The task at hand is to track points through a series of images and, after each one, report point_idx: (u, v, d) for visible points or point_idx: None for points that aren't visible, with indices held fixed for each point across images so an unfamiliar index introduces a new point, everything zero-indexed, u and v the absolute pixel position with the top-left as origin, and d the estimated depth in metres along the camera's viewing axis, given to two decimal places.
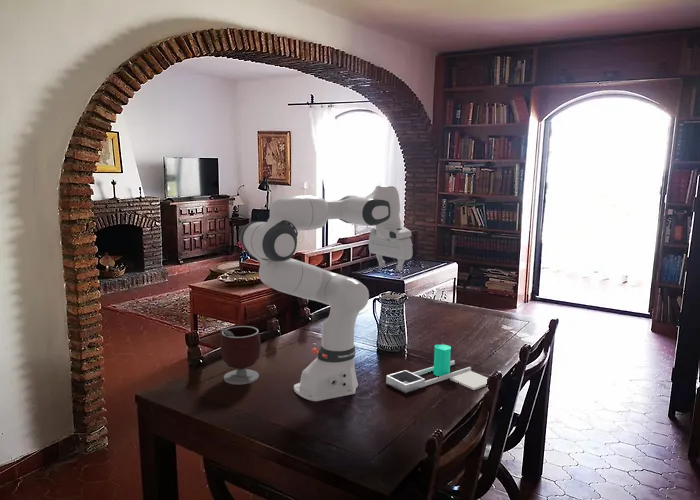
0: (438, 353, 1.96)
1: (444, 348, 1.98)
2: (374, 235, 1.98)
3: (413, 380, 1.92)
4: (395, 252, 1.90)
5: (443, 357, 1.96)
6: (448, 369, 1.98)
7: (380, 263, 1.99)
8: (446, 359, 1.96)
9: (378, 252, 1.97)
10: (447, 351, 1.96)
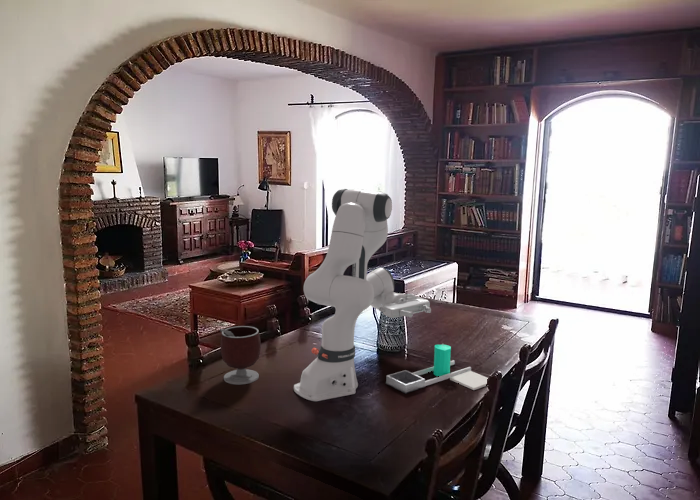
0: (438, 353, 1.96)
1: (444, 348, 1.98)
2: (388, 304, 2.12)
3: (413, 380, 1.92)
4: (418, 301, 2.14)
5: (443, 357, 1.96)
6: (448, 369, 1.98)
7: (409, 311, 2.04)
8: (446, 359, 1.96)
9: (402, 306, 2.08)
10: (447, 351, 1.96)
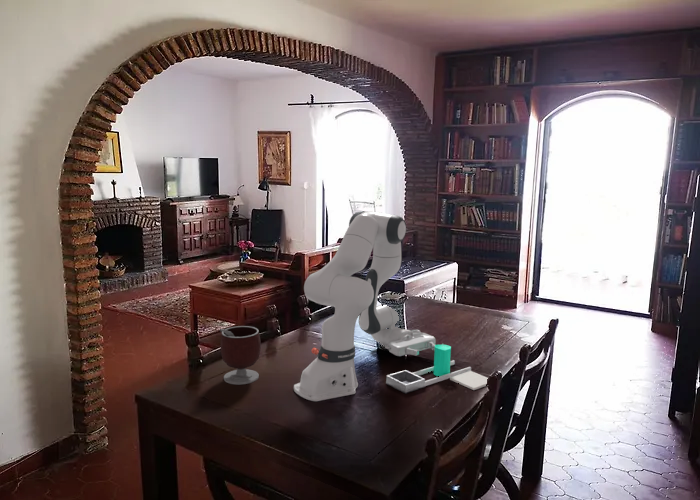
0: (438, 353, 1.96)
1: (444, 348, 1.98)
2: (394, 341, 2.10)
3: (413, 380, 1.92)
4: (423, 338, 2.13)
5: (443, 357, 1.96)
6: (448, 369, 1.98)
7: (415, 350, 2.03)
8: (446, 359, 1.96)
9: (408, 344, 2.07)
10: (447, 351, 1.96)
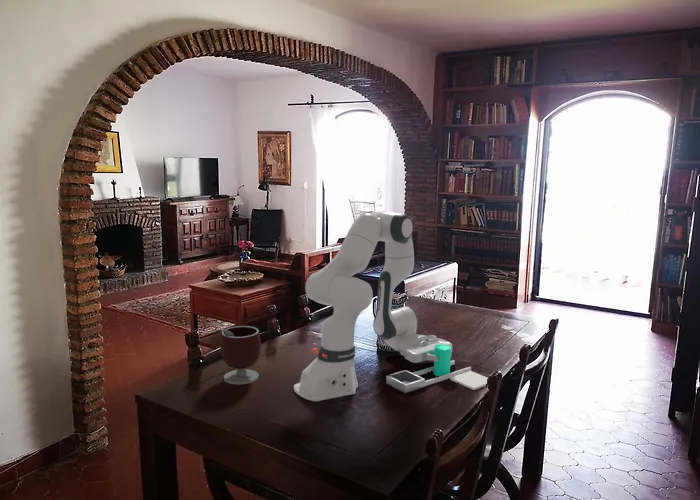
0: (438, 353, 1.96)
1: (444, 348, 1.98)
2: (410, 347, 2.04)
3: (413, 380, 1.92)
4: (440, 344, 2.06)
5: (443, 357, 1.96)
6: (448, 369, 1.98)
7: None
8: (446, 359, 1.96)
9: (425, 350, 2.00)
10: (447, 351, 1.96)
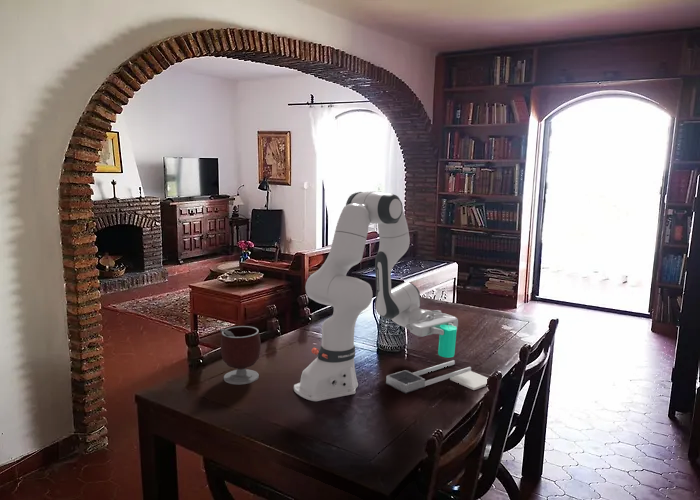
0: None
1: (450, 329, 1.96)
2: (415, 321, 2.01)
3: (413, 380, 1.92)
4: (446, 319, 2.04)
5: (447, 338, 1.94)
6: (452, 350, 1.96)
7: (442, 329, 1.95)
8: (450, 340, 1.94)
9: (430, 324, 1.97)
10: (452, 332, 1.94)
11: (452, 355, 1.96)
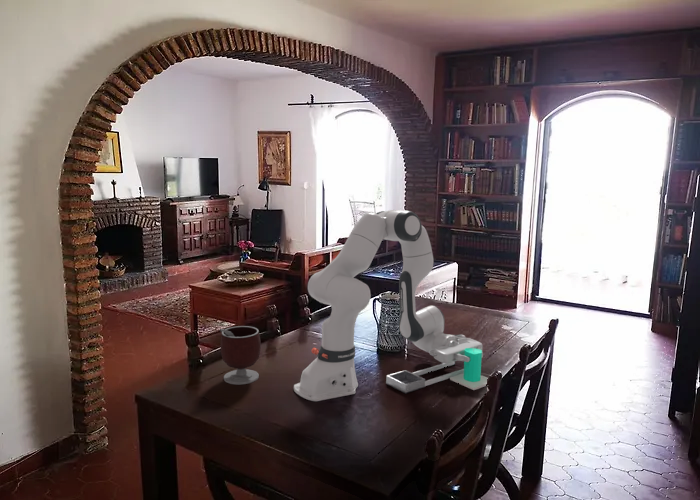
0: None
1: (475, 352, 1.92)
2: (439, 347, 1.97)
3: (413, 380, 1.92)
4: (470, 344, 2.00)
5: (472, 361, 1.90)
6: (478, 374, 1.91)
7: (466, 356, 1.91)
8: (476, 364, 1.90)
9: (455, 350, 1.93)
10: (477, 355, 1.90)
11: (478, 379, 1.92)
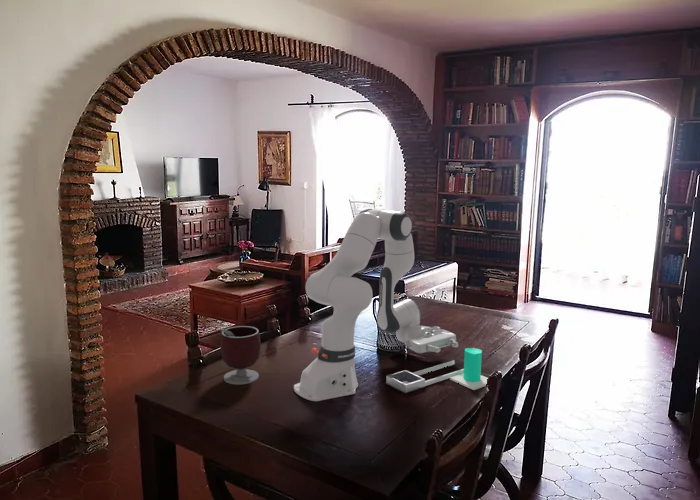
0: (467, 357, 1.91)
1: (475, 352, 1.92)
2: (414, 338, 2.07)
3: (413, 380, 1.92)
4: (444, 335, 2.10)
5: (472, 361, 1.90)
6: (478, 374, 1.91)
7: (437, 347, 2.00)
8: (476, 364, 1.90)
9: (429, 341, 2.03)
10: (477, 355, 1.90)
11: (478, 379, 1.92)
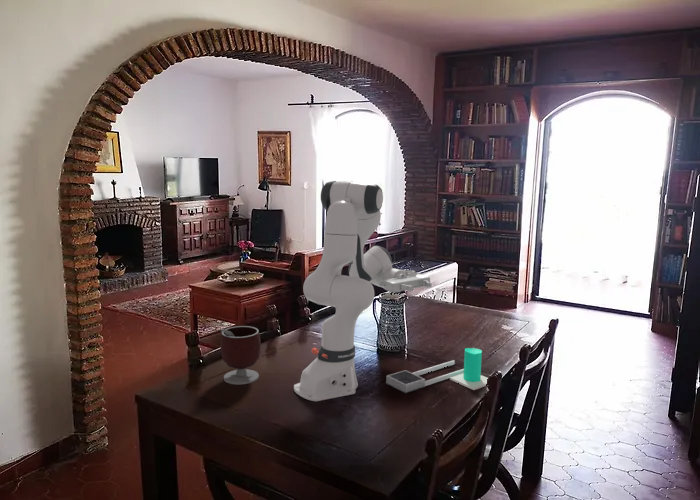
0: (468, 357, 1.91)
1: (475, 352, 1.92)
2: (389, 279, 2.11)
3: (413, 380, 1.92)
4: (418, 277, 2.14)
5: (472, 361, 1.90)
6: (478, 374, 1.91)
7: (410, 285, 2.04)
8: (476, 364, 1.90)
9: (403, 281, 2.08)
10: (477, 355, 1.90)
11: (478, 379, 1.92)
